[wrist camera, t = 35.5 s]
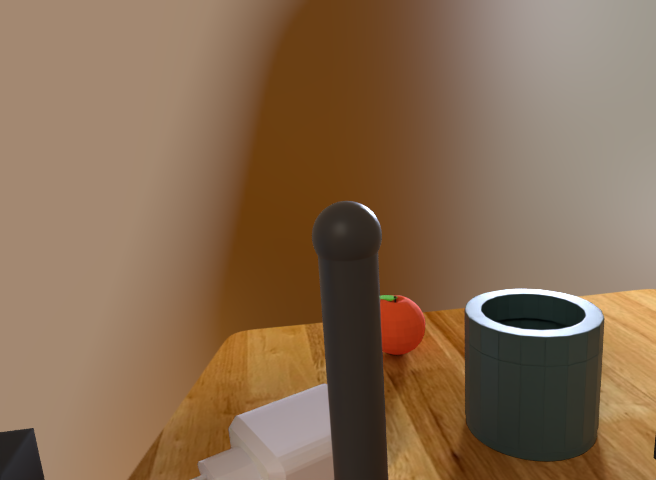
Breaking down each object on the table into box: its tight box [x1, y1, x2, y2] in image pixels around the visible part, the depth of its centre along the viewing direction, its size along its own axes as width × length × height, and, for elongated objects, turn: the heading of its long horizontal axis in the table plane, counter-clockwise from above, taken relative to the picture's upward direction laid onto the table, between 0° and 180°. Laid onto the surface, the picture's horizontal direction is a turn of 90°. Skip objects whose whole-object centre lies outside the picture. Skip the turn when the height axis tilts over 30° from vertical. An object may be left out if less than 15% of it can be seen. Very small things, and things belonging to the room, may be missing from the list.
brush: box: [312, 201, 388, 480], centre depth 27 cm, size 5×5×26 cm
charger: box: [191, 384, 334, 480], centre depth 45 cm, size 5×9×15 cm
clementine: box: [380, 295, 425, 355], centre depth 66 cm, size 8×7×7 cm
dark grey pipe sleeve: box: [465, 289, 604, 461], centre depth 50 cm, size 11×11×11 cm
